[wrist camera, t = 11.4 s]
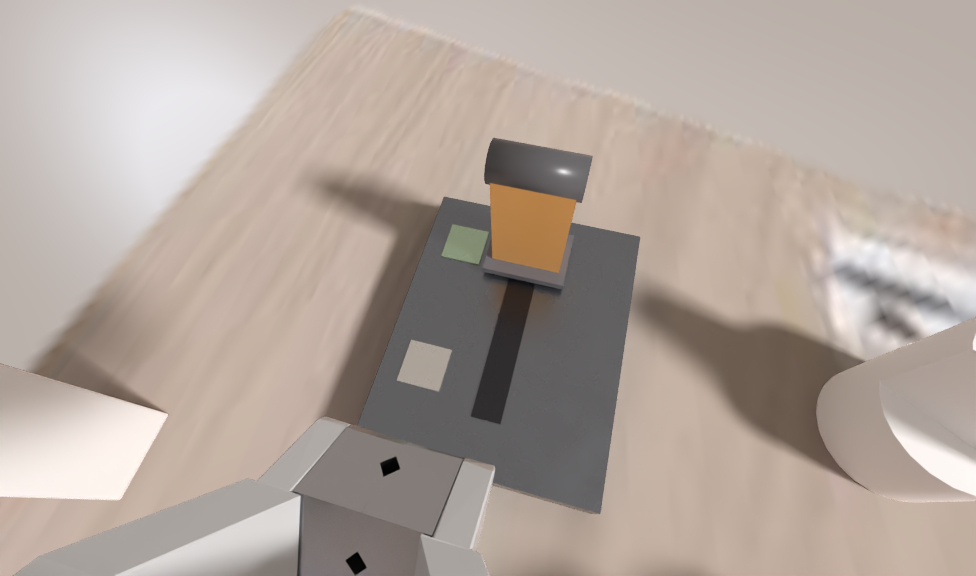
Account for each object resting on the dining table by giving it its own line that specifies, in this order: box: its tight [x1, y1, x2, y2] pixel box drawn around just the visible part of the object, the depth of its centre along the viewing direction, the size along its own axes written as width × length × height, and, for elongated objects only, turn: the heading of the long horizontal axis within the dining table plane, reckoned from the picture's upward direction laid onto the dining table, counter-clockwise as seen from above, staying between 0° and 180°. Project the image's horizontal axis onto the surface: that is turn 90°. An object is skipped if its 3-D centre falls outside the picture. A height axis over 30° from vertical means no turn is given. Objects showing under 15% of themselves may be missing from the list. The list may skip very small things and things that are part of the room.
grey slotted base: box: [357, 197, 640, 514], centre depth 34 cm, size 20×16×3 cm
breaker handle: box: [482, 138, 592, 289], centre depth 30 cm, size 4×6×11 cm
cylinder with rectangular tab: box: [816, 317, 976, 502], centre depth 26 cm, size 9×9×12 cm
